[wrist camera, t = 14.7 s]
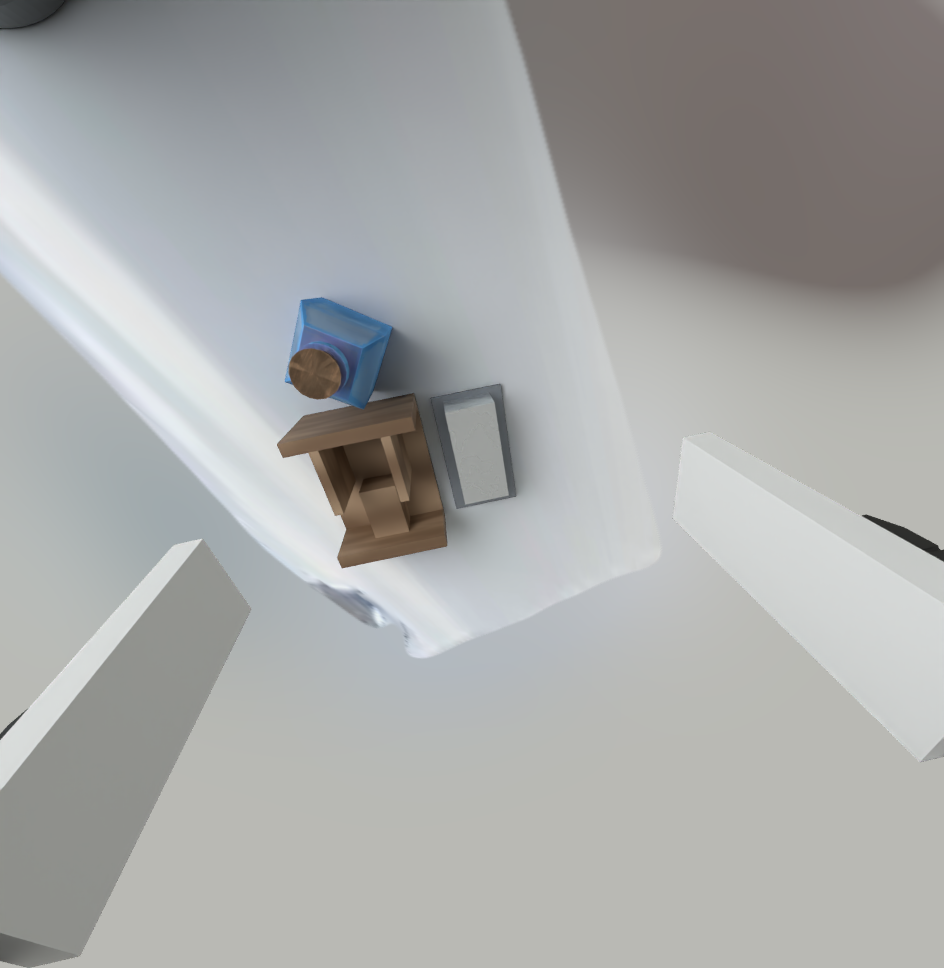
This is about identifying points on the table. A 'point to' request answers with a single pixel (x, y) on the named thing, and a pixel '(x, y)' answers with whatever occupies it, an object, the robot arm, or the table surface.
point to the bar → (477, 447)
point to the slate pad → (447, 444)
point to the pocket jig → (374, 477)
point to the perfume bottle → (336, 352)
